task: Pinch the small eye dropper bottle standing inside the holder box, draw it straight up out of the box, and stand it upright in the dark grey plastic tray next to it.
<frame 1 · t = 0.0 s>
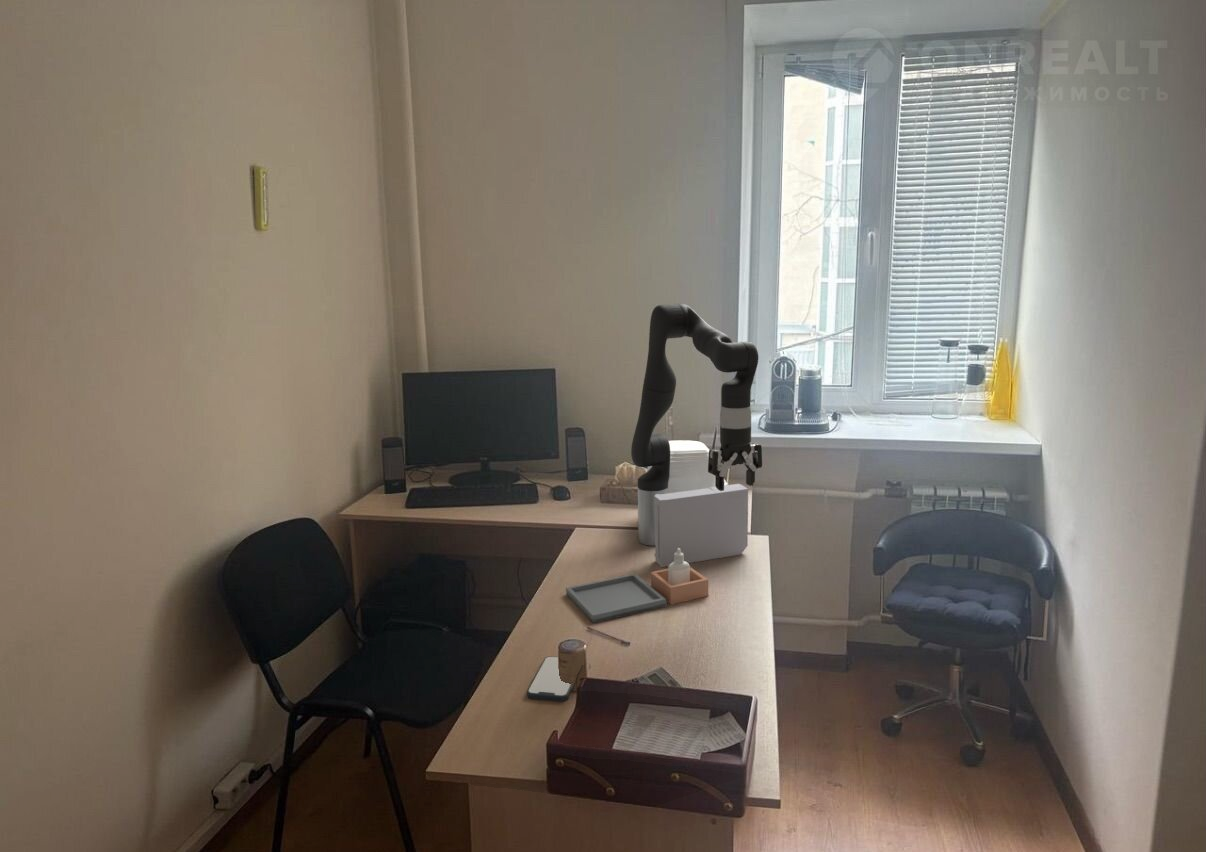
hand: (735, 487, 197), 29 cm above the table, tool pointing down, fingers open, 8 cm apart
tray: (615, 600, 204), on the table
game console: (700, 557, 230), on the table
paper stack: (688, 522, 260), on the table
phone case: (555, 682, 168), on the table
holder box: (679, 591, 208), on the table
eye dropper bottle: (679, 592, 208), resting in holder box
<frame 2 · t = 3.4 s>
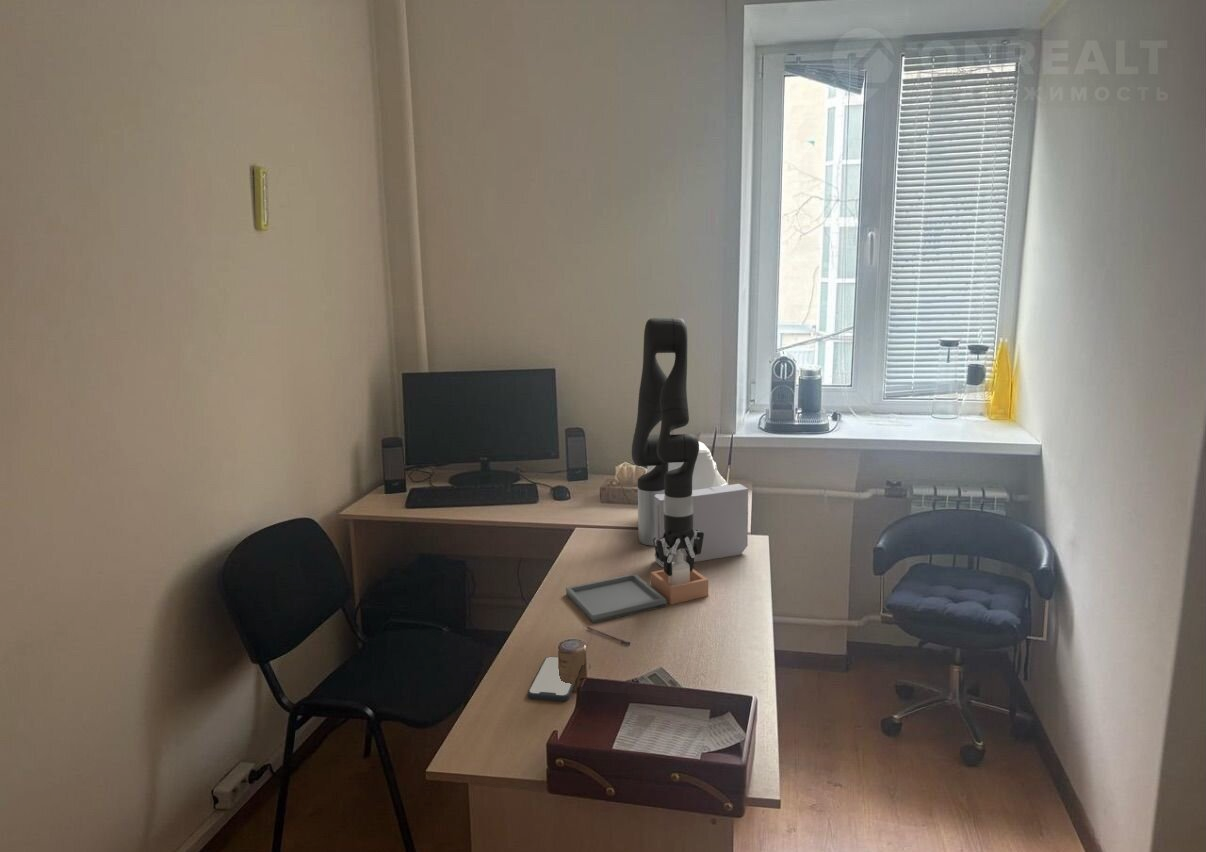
hand: (679, 572, 206), 6 cm above the table, tool pointing down, fingers closed on eye dropper bottle, 5 cm apart
eye dropper bottle: (679, 592, 208), resting in holder box, touching gripper
everything else where it was.
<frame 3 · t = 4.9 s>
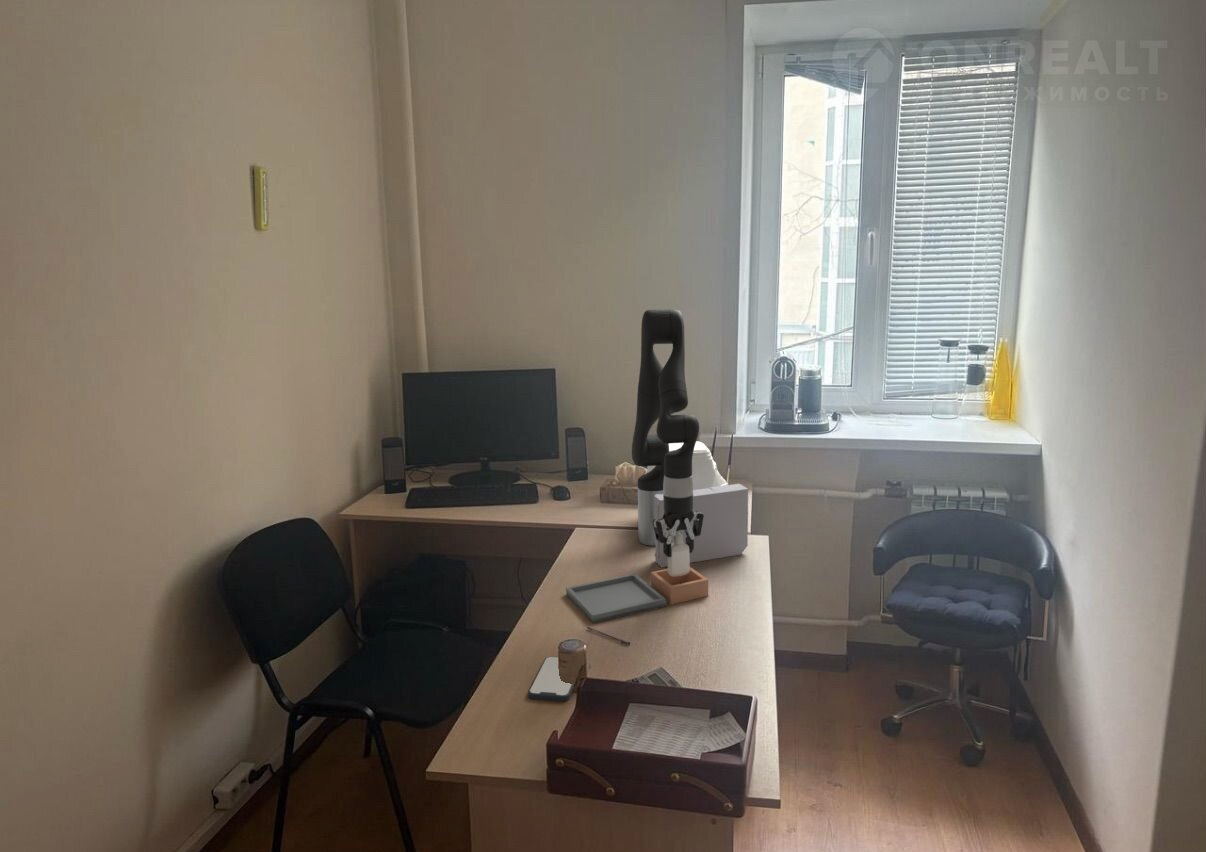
hand: (678, 553, 206), 11 cm above the table, tool pointing down, fingers closed on eye dropper bottle, 5 cm apart
eye dropper bottle: (678, 574, 207), point 5 cm above the table, touching gripper
everything else where it was.
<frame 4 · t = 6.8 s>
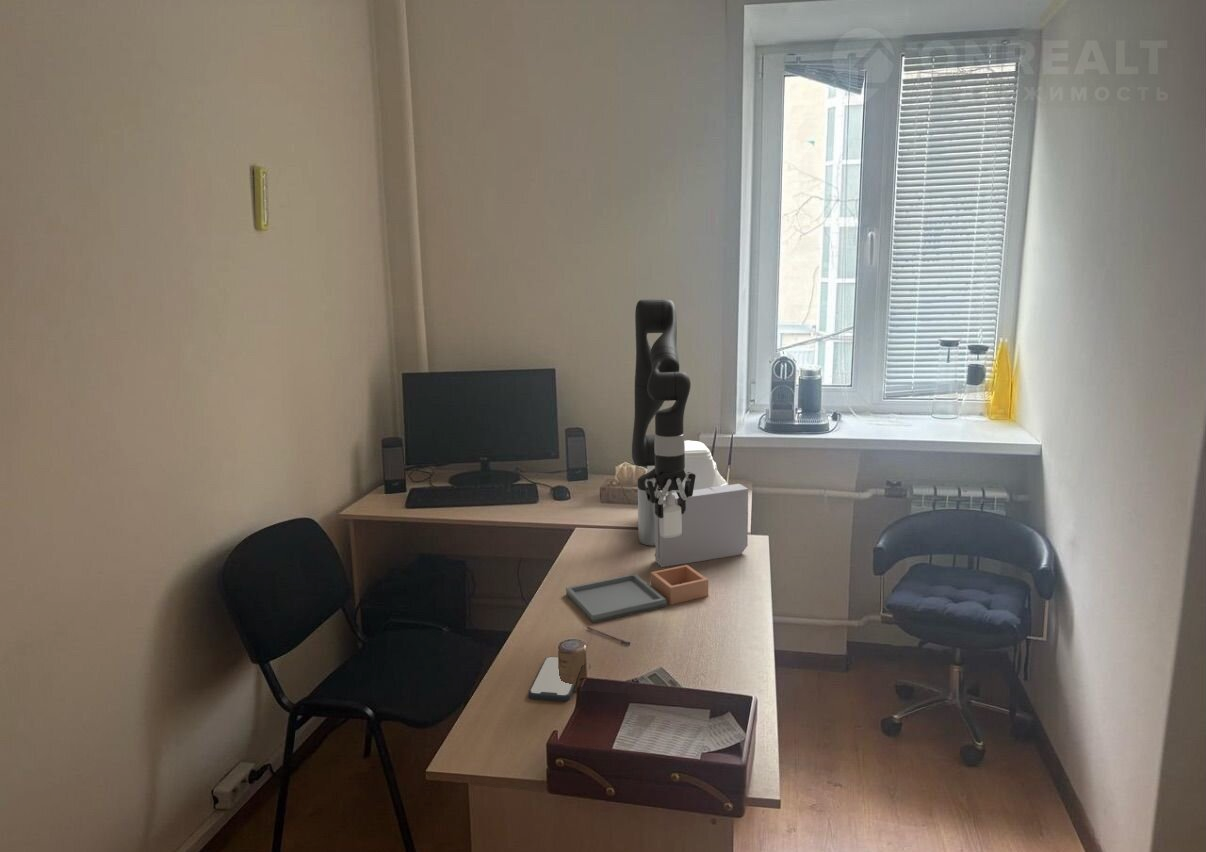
hand: (670, 515, 202), 21 cm above the table, tool pointing down, fingers closed on eye dropper bottle, 5 cm apart
eye dropper bottle: (670, 536, 204), point 16 cm above the table, touching gripper
everything else where it was.
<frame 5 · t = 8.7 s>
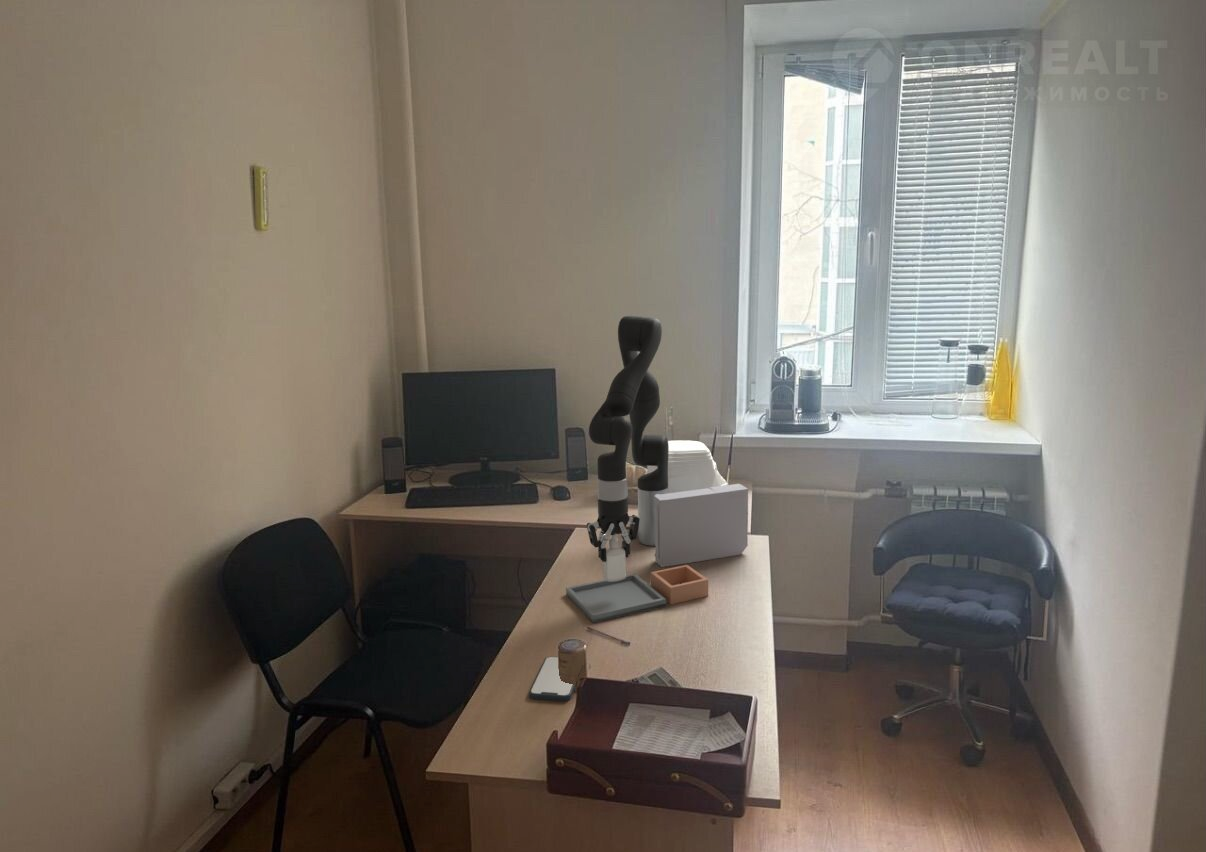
hand: (614, 558, 201), 11 cm above the table, tool pointing down, fingers closed on eye dropper bottle, 5 cm apart
eye dropper bottle: (615, 579, 203), point 6 cm above the table, touching gripper
everything else where it was.
when the fingers open (7 cm above the table, at t = 10.1 s): eye dropper bottle stays where it is, resting on tray.
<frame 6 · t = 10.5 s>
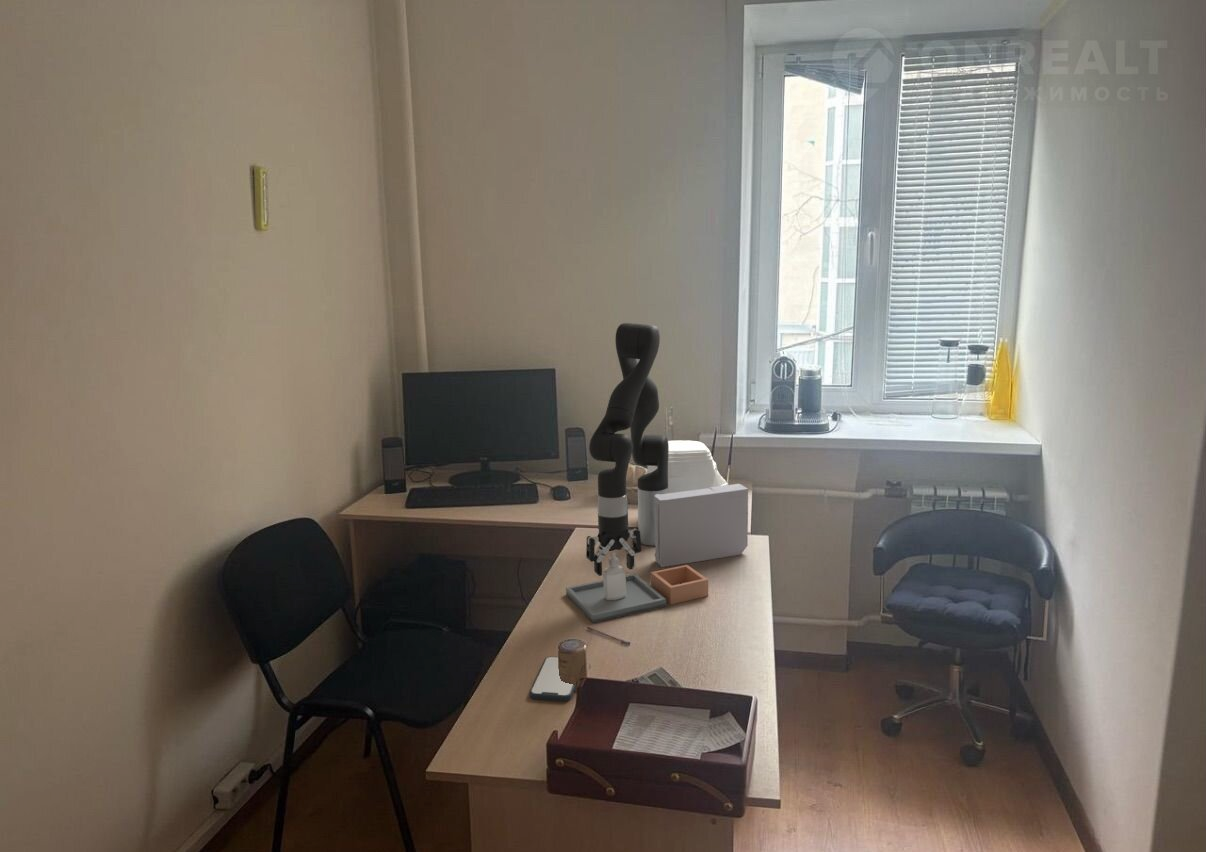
hand: (614, 571, 202), 8 cm above the table, tool pointing down, fingers open, 8 cm apart
eye dropper bottle: (615, 598, 204), point 1 cm above the table, touching tray
everything else where it was.
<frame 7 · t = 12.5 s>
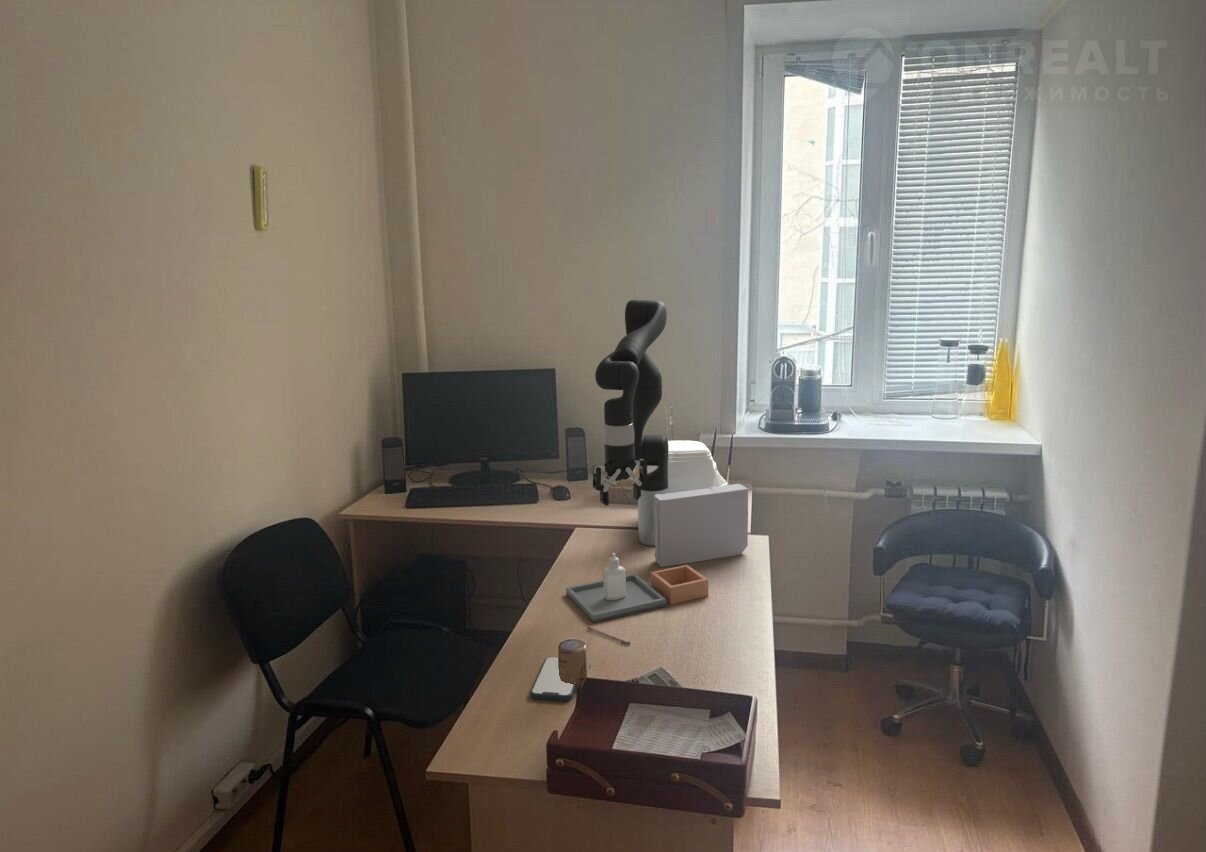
hand: (621, 501, 202), 25 cm above the table, tool pointing down, fingers open, 8 cm apart
nothing on the table moved.
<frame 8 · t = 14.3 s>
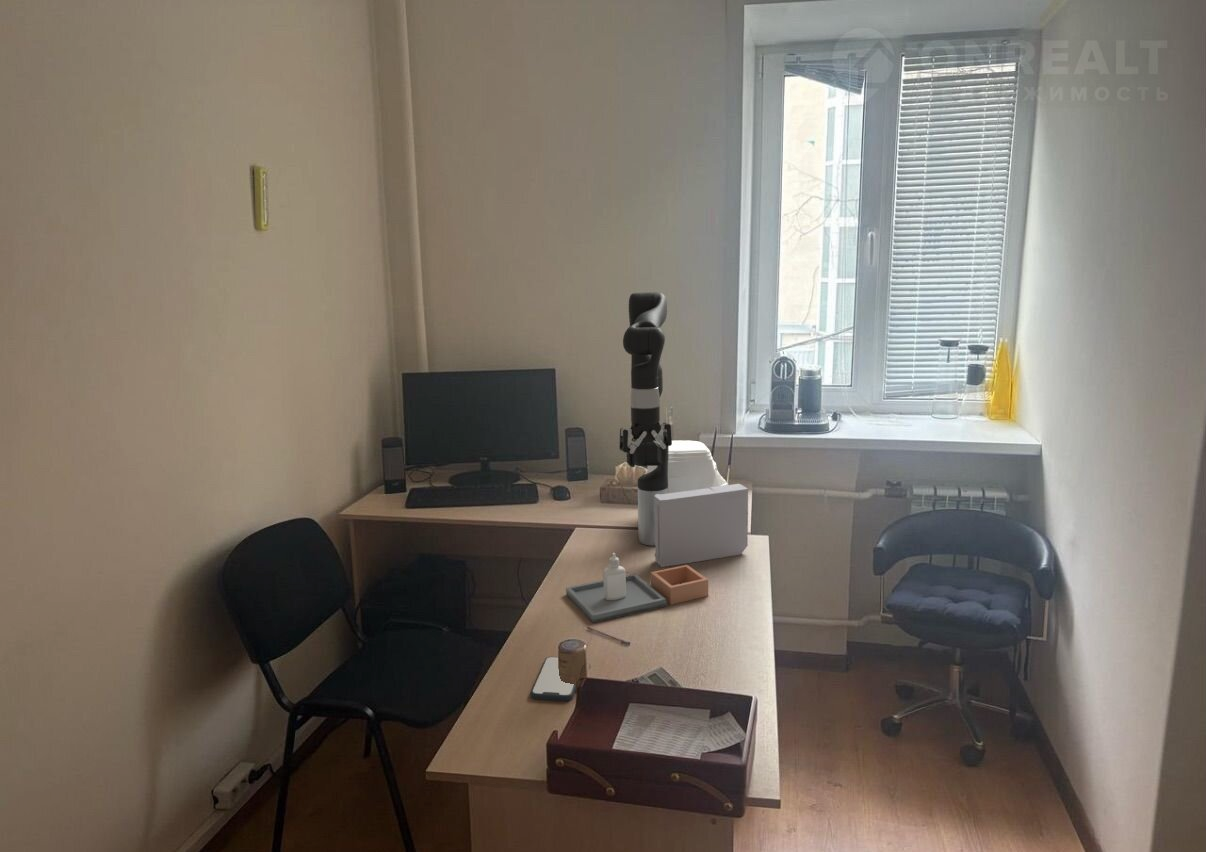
hand: (646, 464, 210), 32 cm above the table, tool pointing down, fingers open, 8 cm apart
nothing on the table moved.
at the end: eye dropper bottle inside the target area on the tray (0.1 cm from its centre), point 0.6 cm above the tray's base; eye dropper bottle tilted 0°; the gripper is holding nothing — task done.
